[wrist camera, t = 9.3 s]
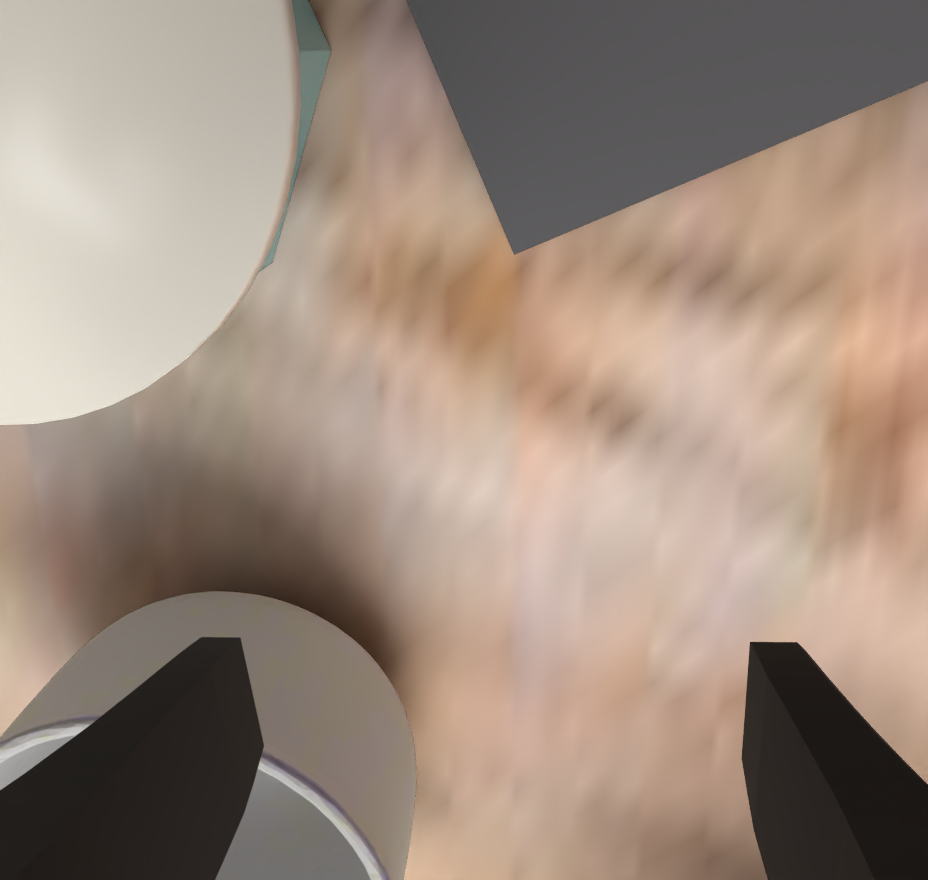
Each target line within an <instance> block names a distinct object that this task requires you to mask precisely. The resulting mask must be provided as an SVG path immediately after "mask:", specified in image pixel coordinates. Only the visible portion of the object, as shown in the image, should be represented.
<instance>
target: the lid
mask: <svg viewBox="0 0 928 880" xmlns="http://www.w3.org/2000/svg"><path fill="white" fill-rule="evenodd" d="M300 111H301V95H300V62H299V46H298V39H297V32H296V26H295V19H294V12H293V5H292V0H0V425H18V424H38V423H44V422H50V421H56V420H62V419H68V418H74V417H77V416H80V415H83V414H86V413H89V412H92V411H95V410H99V409H102V408H105V407H108V406H111V405H113V404H115V403H117V402H119V401H121V400H123V399H125V398H127V397H129V396H131V395H133V394H135V393H137V392H139V391H141V390H143V389H145V388H147V387H148V386H150V385H151V384H152V383H154V382H155V381H157V380H158V379H159V378H161V377H162V376H164V375H165V374H166V373H168V372H169V371H171V370H172V369H173V368H175V367H176V366H178V365H179V364H180V363H181V362H183V361H184V360H185V359H187V358H188V357H189V356H190V355H192V354H193V353H194V352H195V351H196V350H197V349H198V348H199V347H200V346H201V345H202V344H203V343H204V342H206V341H207V340H208V339H209V338H210V337H211V336H212V335H213V334H214V333H215V332H216V331H217V330H218V329H219V328H220V327H221V326H222V325H223V324H224V323H225V321H226V320H227V319H228V317H229V316H230V315H231V313H232V312H233V311H234V309H235V308H236V306H237V305H238V304H239V302H240V301H241V300H242V298H243V297H244V296H245V294H246V293H247V292H248V290H249V289H250V287H251V285H252V283H253V281H254V279H255V277H256V276H257V274H258V272H259V270H260V268H261V266H262V264H263V263H264V261H265V259H266V257H267V255H268V253H269V251H270V249H271V246H272V243H273V240H274V238H275V235H276V232H277V229H278V227H279V224H280V221H281V219H282V216H283V213H284V210H285V208H286V203H287V198H288V194H289V189H290V185H291V180H292V176H293V171H294V167H295V162H296V155H297V144H298V133H299V122H300Z"/></svg>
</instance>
